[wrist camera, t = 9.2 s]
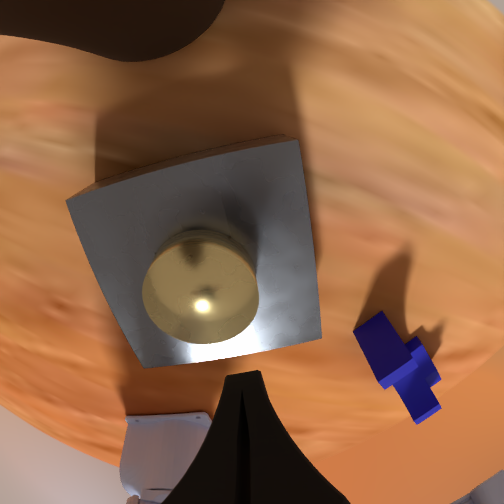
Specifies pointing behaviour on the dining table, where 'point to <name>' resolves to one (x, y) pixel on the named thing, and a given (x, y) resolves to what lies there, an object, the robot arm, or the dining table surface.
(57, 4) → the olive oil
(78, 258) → the dining table surface
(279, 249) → the block
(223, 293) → the brass pin
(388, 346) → the blue angular block
